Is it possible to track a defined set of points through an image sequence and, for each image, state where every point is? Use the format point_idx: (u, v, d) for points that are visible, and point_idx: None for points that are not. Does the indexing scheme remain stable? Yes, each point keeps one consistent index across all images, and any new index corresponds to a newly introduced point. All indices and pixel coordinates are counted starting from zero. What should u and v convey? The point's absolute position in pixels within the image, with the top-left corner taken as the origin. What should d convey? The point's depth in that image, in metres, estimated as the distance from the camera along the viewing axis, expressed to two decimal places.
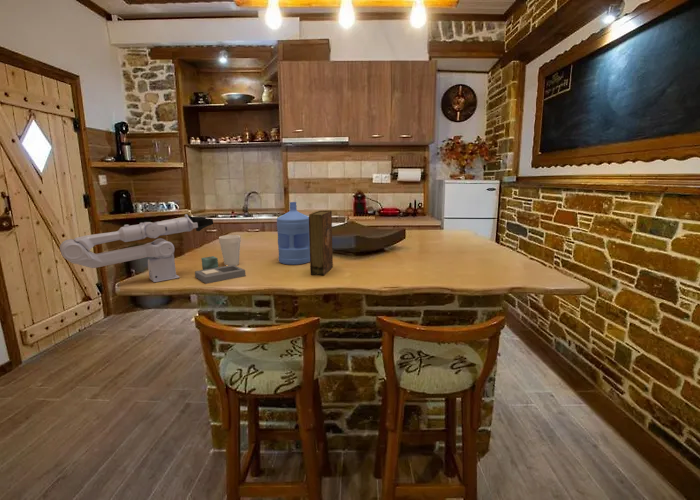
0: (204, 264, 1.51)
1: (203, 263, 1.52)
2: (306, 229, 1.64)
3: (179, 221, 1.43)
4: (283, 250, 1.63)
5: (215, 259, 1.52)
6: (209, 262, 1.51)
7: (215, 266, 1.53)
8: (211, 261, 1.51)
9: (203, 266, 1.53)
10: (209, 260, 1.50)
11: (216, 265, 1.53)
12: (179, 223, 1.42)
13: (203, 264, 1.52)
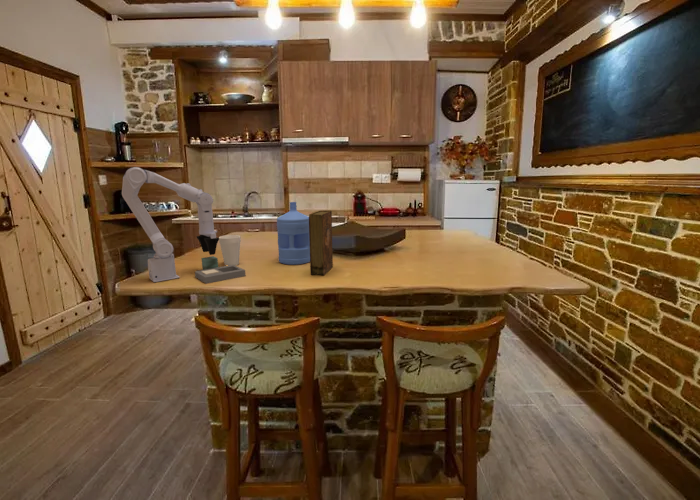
0: (204, 264, 1.51)
1: (203, 263, 1.52)
2: (306, 229, 1.64)
3: (212, 224, 1.49)
4: (283, 250, 1.63)
5: (215, 259, 1.52)
6: (209, 262, 1.51)
7: (215, 266, 1.53)
8: (211, 261, 1.51)
9: (203, 266, 1.53)
10: (209, 260, 1.50)
11: (216, 265, 1.53)
12: (211, 223, 1.49)
13: (203, 264, 1.52)
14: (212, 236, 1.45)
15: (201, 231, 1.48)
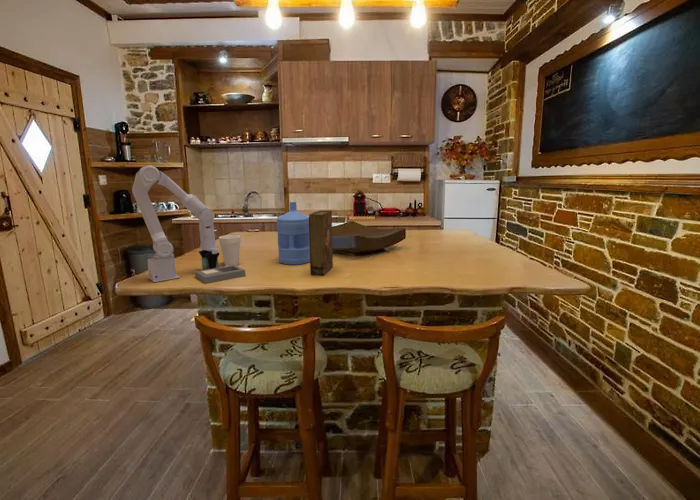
0: (204, 264, 1.51)
1: (203, 263, 1.52)
2: (306, 229, 1.64)
3: (213, 239, 1.51)
4: (283, 250, 1.63)
5: None
6: None
7: None
8: None
9: (203, 266, 1.53)
10: None
11: (216, 265, 1.53)
12: (212, 239, 1.50)
13: (203, 264, 1.52)
14: (213, 252, 1.46)
15: (202, 246, 1.49)
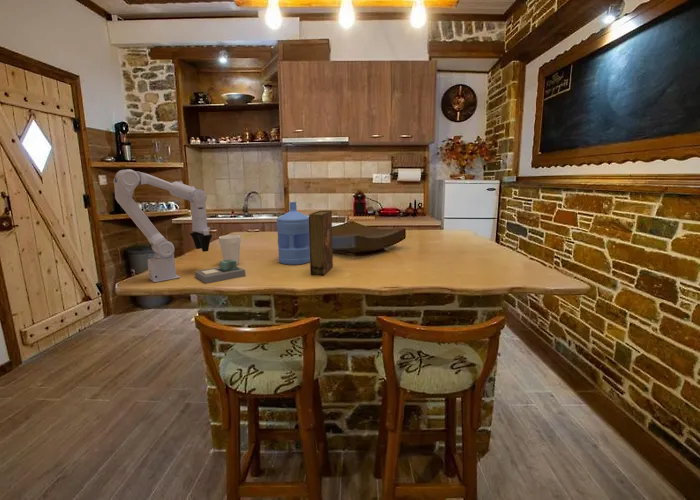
0: (223, 267, 1.45)
1: (221, 266, 1.46)
2: (306, 229, 1.64)
3: (205, 220, 1.49)
4: (283, 250, 1.63)
5: (234, 262, 1.46)
6: (228, 265, 1.45)
7: (234, 269, 1.47)
8: (230, 264, 1.45)
9: (221, 269, 1.47)
10: (228, 263, 1.45)
11: (235, 268, 1.47)
12: (204, 220, 1.48)
13: (222, 268, 1.46)
14: (205, 233, 1.45)
15: (194, 228, 1.48)
